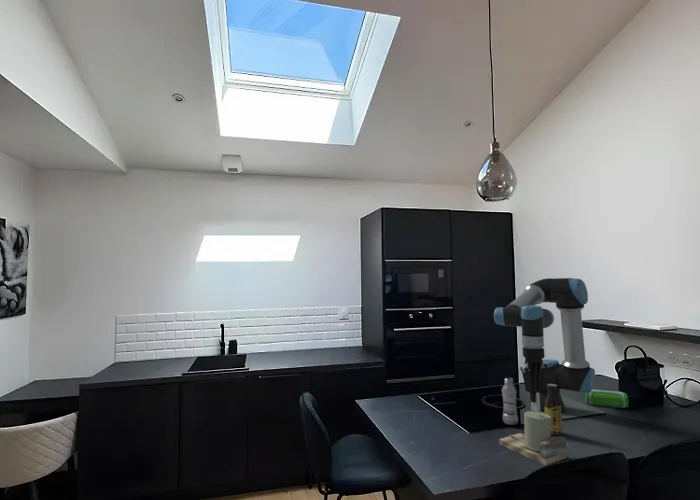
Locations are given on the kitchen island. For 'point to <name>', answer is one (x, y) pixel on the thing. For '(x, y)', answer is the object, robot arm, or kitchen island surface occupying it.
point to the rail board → (526, 450)
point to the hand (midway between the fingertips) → (535, 410)
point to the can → (536, 429)
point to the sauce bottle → (553, 409)
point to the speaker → (607, 398)
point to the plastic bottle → (509, 402)
